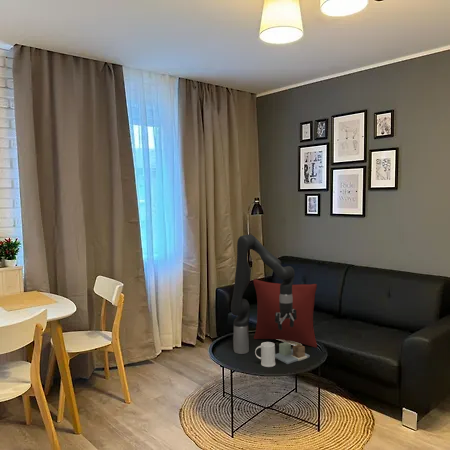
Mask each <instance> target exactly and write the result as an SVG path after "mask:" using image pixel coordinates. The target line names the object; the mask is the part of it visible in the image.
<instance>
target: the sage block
mask: <svg viewBox="0 0 450 450" xmlns="http://www.w3.org/2000/svg"><path fill="white" fill-rule="evenodd" d="M278 345H279V346H278V353H280V354H282V355H284V356H285V355H289V354H291V349H292V345H291V343H288V341H287V342H286V341H284V342H280V343H279V344H278Z"/></svg>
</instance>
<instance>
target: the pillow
mask: <svg viewBox="0 0 450 450" xmlns="http://www.w3.org/2000/svg"><path fill="white" fill-rule="evenodd" d="M280 284H281V283H276V282H269V281H264V280H261V279H259V280H258V279H256V278H254V279H253V286H254V289H255V294H256V301H257V303H256V304H257V309H256V310H257V312H256V315H257V316H256V317H257V318H256V324H255V325H256V327H255V333H254V335H253V339H254V340H269V339H270V340H280V341H285V342H286V341H287V342H288V341H289V342H292V343H297V344H298V343H299V344H301V345H302V344H303V345H305V346H309V347H312V348H315V349H316V348H318V342H317V339H316V336H315V329H314V309H315V297H316V292H317V289H318V288H317V287H318V283H312V284H293V285H292V297H293V309H296V315H297V319H295V320H294V326H293V327H290V319H289V318H287V319H284V321H283V322H282V330H279V329H278V323H275V313H276V312H277V313H279V312H280V308H279V297H280ZM291 315H292V314H291ZM281 318H282V317H281ZM280 321H281V320H280Z"/></svg>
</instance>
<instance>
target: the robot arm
mask: <svg viewBox="0 0 450 450" xmlns="http://www.w3.org/2000/svg"><path fill="white" fill-rule="evenodd" d="M236 244H237V245H236V265H235V266H236V267H235V274H234V284H233V285H234V286H233V292H232V298H231V302H230V311H231V312H230V313H231V314H232V315H233V316H235V319H234V320H233V335H232V339H233V340H232V342H233V343H232V344H233V347H232V348H233V351H234V353H235V354H239V355H243V354H244V355H245V354H248V353H249V351H250V350H249V349H250V348H249V347H250V346H249V345H250V343H249V342H250V341H249V340H250V339H249V336H250V335H249V321H250V315H251V314H250V313H251V312H250V311H251V309H250V303H249V301H248V300H247V299H245V298H243V296H244V294H245V292H246V290H247V287H248V286H249V284H250V280H251V274H252V273H251V267H250V265H249V261H248V254H249V251H250V250H252V251H254V252H255V253H256V254H258V255H259V257H260V260H261V261H262V262H263V264H265V265H266V266H267V267H268V268H269V269H271V270H272V271H273V273H274V274H275V275H276V277H277V278H278V279H280V280H282V283H279V284H280V297H279V308H280V312H279V313H277V312H276V313H275V323H278V329H279V330H282V322H283V321H284V319H287V318H289V319H290V327H293V326H294V320H295V319H297V315H296V309H293V297H292V285H294V280H295V277H296V276H295V270H294V268H293V267H292V266H290V265H287V266H282V261H281V259H279V258H277V257H276V256H275V255H274V254H273V253H271V252H270V251H269V250H268V249H267V248H266V247H265V246H264V244H262V242H261V241H260V240H258V238H257V237H255V235H253V234H244V235H240V236H238V239H237V243H236ZM291 314H292V315H291ZM281 317H282V318H281ZM280 320H281V321H280Z"/></svg>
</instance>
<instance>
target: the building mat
mask: <svg viewBox="0 0 450 450" xmlns="http://www.w3.org/2000/svg"><path fill="white" fill-rule="evenodd" d="M310 356H311V355H310V354H308V353H306V352H305V356H304V357H301V358H297V357H295V356H293V348H291V354H289V355H285V356H284V355H282V354H280V353H279V352H278V353H275V360H278V361H281V362H282V363H284V364H286V365H289V364H292V363H295V362H300V361H303V360H305V359H308V358H310Z"/></svg>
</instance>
